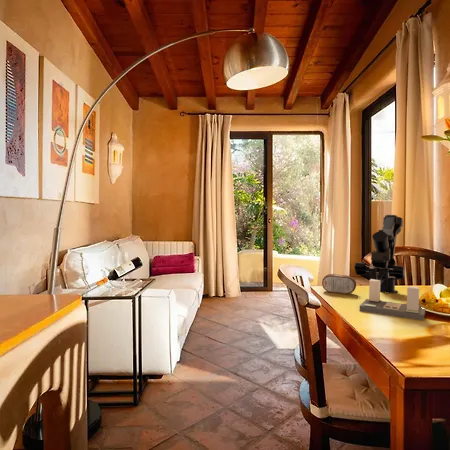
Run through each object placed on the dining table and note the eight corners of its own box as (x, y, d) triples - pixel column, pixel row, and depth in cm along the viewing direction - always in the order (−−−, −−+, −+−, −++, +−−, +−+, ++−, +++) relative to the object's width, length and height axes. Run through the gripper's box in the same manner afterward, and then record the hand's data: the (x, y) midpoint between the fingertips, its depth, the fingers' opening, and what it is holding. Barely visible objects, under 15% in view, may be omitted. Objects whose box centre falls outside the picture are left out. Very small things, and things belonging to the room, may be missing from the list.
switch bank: (366, 303, 142) (366, 298, 142) (425, 312, 130) (425, 306, 130) (359, 310, 132) (359, 304, 132) (422, 320, 120) (423, 313, 120)
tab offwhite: (370, 298, 140) (370, 279, 140) (379, 300, 138) (380, 280, 138) (369, 300, 138) (369, 280, 137) (378, 301, 136) (378, 281, 135)
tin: (356, 293, 159) (356, 275, 159) (355, 295, 156) (355, 276, 156) (322, 290, 166) (322, 273, 165) (321, 292, 163) (321, 274, 162)
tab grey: (407, 307, 127) (408, 286, 127) (418, 309, 125) (419, 287, 125) (406, 309, 125) (407, 287, 125) (417, 311, 123) (418, 288, 123)
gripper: (355, 243, 149) (348, 272, 140) (404, 246, 138) (400, 277, 129) (359, 259, 155) (353, 288, 147) (406, 263, 145) (402, 294, 136)
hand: (375, 287), depth 140 cm, fingers closed
